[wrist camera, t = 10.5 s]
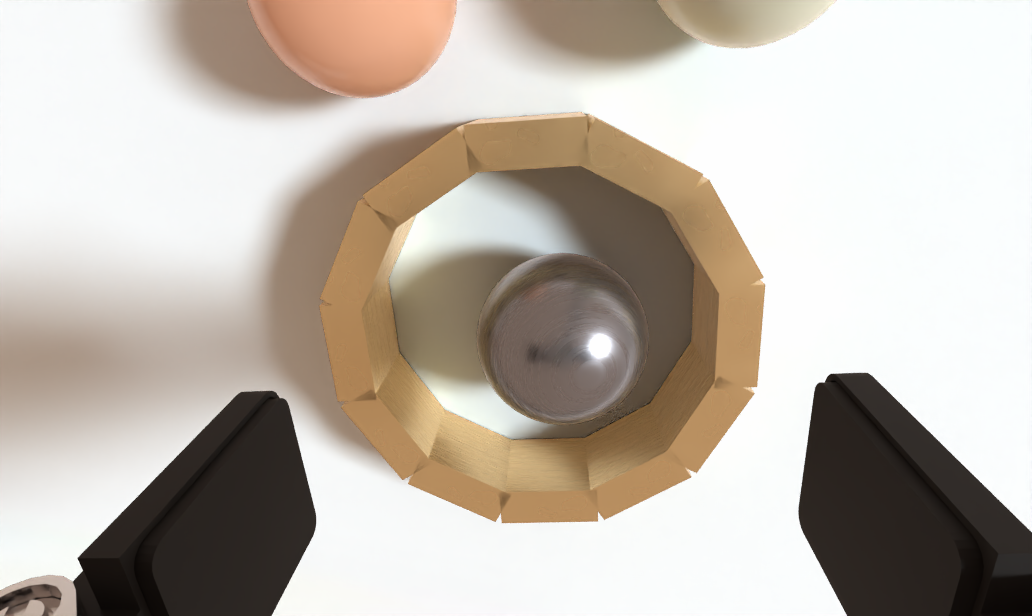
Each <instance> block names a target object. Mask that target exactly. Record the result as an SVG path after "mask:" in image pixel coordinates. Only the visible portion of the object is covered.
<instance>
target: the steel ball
mask: <svg viewBox="0 0 1032 616" xmlns="http://www.w3.org/2000/svg"><path fill="white" fill-rule="evenodd" d="M648 346H649V330H648V324H647V319H646V315H645V312H644V309H643V307H642V304H641V302H640V300H639V299H638V297H637V295H636V293H635V292H634V290H633V289H632V288H631V286H630V285H629V284H628V283H627V282H626V281H625V279H624V278H623V277H622V276H620V275H619V274H618V273H617V272H616V271H614V270H613V269H612V268H610V267H609V266H607V265H605V264H603V263H601V262H599V261H597V260H595V259H592V258H590V257H587V256H582V255H578V254H570V253H554V254H547V255H542V256H539V257H536V258H533V259H530V260H528V261H526V262H524V263H522V264H520V265H518V266H517V267H515V268H513V269H512V270H511V271H509V272H508V273H507V274H506V275H505V276H504V277H503V278H502V279H501V280H500V281H499V282H498V283H497V284H496V285H495V287H494V288H493V290H492V291H491V292H490V294H489V296H488V298H487V299H486V301H485V303H484V306H483V308H482V311H481V314H480V318H479V322H478V330H477V349H478V355H479V360H480V363H481V366H482V369H483V372H484V374H485V376H486V378H487V380H488V382H489V383H490V385H491V386H492V388H493V389H494V391H495V392H496V393H497V395H498V396H499V397H500V398H501V399H502V400H503V401H504V402H505V403H506V404H508V405H509V406H510V407H511V408H513V409H514V410H515V411H517V412H519V413H521V414H522V415H524V416H526V417H528V418H531V419H533V420H536V421H540V422H544V423H548V424H556V425H571V424H578V423H583V422H587V421H590V420H593V419H596V418H598V417H600V416H602V415H604V414H606V413H608V412H609V411H611V410H612V409H614V408H615V407H616V406H618V405H619V404H620V403H621V402H622V401H623V400H624V399H625V398H626V397H627V396H628V395H629V394H630V392H631V391H632V390H633V388H634V387H635V385H636V384H637V382H638V380H639V378H640V376H641V374H642V372H643V369H644V366H645V363H646V360H647V355H648Z"/></svg>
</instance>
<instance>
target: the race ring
mask: <svg viewBox="0 0 1032 616" xmlns="http://www.w3.org/2000/svg"><path fill="white" fill-rule="evenodd" d="M569 166H582V167H584V168H586V169H588V170H590V171H591V172H593V173H595V174H597V175H599V176H601V177H603V178H605V179H607V180H609V181H611V182H613V183H615V184H617V185H619V186H621V187H623V188H625V189H627V190H628V191H630V192H632V193H634V194H636V195H638V196H640V197H642V198H644V199H646V200H648V201H650V202H652V203H654V204H656V205H658V206H660V207H661V209H662V210H663V212H664V214H665V215H666V217H667V219H668V221H669V222H670V224H671V226H672V227H673V229H674V231H675V232H676V234H677V236H678V237H679V239H680V241H681V242H682V244H683V246H684V247H685V249H686V251H687V253H688V254H689V256H690V258H691V259H692V261H693V263H694V283H693V311H692V339H691V342H690V344H689V345H688V347H687V348H686V350H685V351H684V353H683V354H682V356H681V357H680V359H679V360H678V362H677V363H676V365H675V366H674V368H673V369H672V371H671V372H670V374H669V375H668V377H667V378H666V380H665V382H664V383H663V385H662V386H661V388H660V389H659V391H658V392H657V394H656V395H655V397H654V398H653V400H652V401H651V403H649V404H647V405H646V406H644V407H642V408H640V409H638V410H636V411H634V412H632V413H631V414H629V415H627V416H625V417H623V418H621V419H619V420H617V421H616V422H614V423H612V424H610V425H608V426H606V427H604V428H602V429H601V430H599V431H597V432H595V433H593V434H591V435H589V436H587V437H586V438H557V439H523V440H511V439H508V438H506V437H504V436H502V435H500V434H497V433H495V432H493V431H491V430H489V429H486V428H484V427H482V426H480V425H477V424H475V423H473V422H471V421H469V420H466V419H464V418H462V417H460V416H458V415H455V414H453V413H451V412H449V411H446V410H445V409H444V408H443V407H442V406H441V404H440V403H439V402H438V401H437V399H436V398H435V397H434V396H433V394H432V393H431V392H430V391H429V389H428V388H427V387H426V385H425V384H424V383H423V382H422V380H421V379H420V378H419V377H418V375H417V374H416V373H415V372H414V370H413V369H412V368H411V367H410V365H409V364H408V363H407V361H406V360H405V359H404V358H403V356H402V355H401V354H400V353H399V346H398V339H397V333H396V326H395V319H394V313H393V306H392V299H391V293H390V286H389V277H390V275H391V272H392V270H393V268H394V265H395V263H396V261H397V258H398V256H399V254H400V251H401V249H402V247H403V244H404V242H405V240H406V237H407V235H408V233H409V230H410V228H411V226H412V223H413V221H414V219H415V216H416V214H417V213H419V212H420V211H422V210H423V209H424V208H426V207H427V206H429V205H430V204H432V203H433V202H435V201H436V200H437V199H439V198H440V197H442V196H443V195H445V194H446V193H448V192H449V191H450V190H452V189H453V188H455V187H456V186H458V185H459V184H461V183H462V182H463V181H465V180H466V179H468V178H469V177H471V176H472V175H474V174H475V173H476V172H491V171H506V170H522V169H538V168H553V167H569ZM702 175H703V174H702V173H700V172H698V171H696V170H695V169H693V168H691V167H689V166H687V165H685V164H684V163H682V162H680V161H678V160H676V159H674V158H672V157H670V156H668V155H667V154H665V153H663V152H661V151H659V150H657V149H655V148H653V147H651V146H649V145H647V144H646V143H644V142H642V141H640V140H638V139H636V138H634V137H632V136H630V135H628V134H627V133H625V132H623V131H621V130H619V129H617V128H615V127H613V126H611V125H609V124H607V123H606V122H604V121H602V120H600V119H598V118H596V117H594V116H592V115H590V114H588V115H587V116H586V115H585V114H583V113H582V112H575V113H561V114H547V115H533V116H519V117H504V118H490V119H477V120H475V121H472V122H469V123H467V124H464V125H461V126H459V127H456V128H455V129H453V130H452V131H451V132H449V133H448V134H446V135H445V136H444V137H442V138H441V139H440V140H438V141H437V142H435V143H434V144H433V145H431V146H430V147H428V148H427V149H426V150H424V151H423V152H422V153H420V154H419V155H417V156H416V157H415V158H413V159H412V160H410V161H409V162H408V163H406V164H405V165H404V166H402V167H401V168H399V169H398V170H397V171H395V172H394V173H393V174H391V175H390V176H388V177H387V178H386V179H384V180H383V181H381V182H380V183H379V184H377V185H376V186H375V187H373V188H372V189H370V190H369V191H368V192H366V193H365V194H363V197H364V198H363V199H361V200H359V201H358V202H357V204H356V207H355V210H354V212H353V215H352V217H351V220H350V222H349V225H348V228H347V230H346V233H345V235H344V238H343V240H342V243H341V246H340V248H339V251H338V253H337V256H336V258H335V261H334V264H333V266H332V269H331V271H330V274H329V276H328V279H327V281H326V284H325V287H324V289H323V292H322V294H321V297H320V299H321V300H323V301H324V302H323V303H322V304H321V305H320V306H319V307H320V313H321V318H322V323H323V328H324V333H325V338H326V343H327V348H328V353H329V359H330V364H331V369H332V374H333V379H334V384H335V389H336V394H337V400H338V402H340V401H345V402H344V404H343V405H342V407H341V408H342V409H343V411H344V412H345V413H346V414H347V415H348V417H349V418H350V419H351V420H352V421H353V422H354V424H355V425H356V426H357V427H358V428H359V429H360V431H361V432H362V433H363V434H364V435H365V436H366V438H367V439H368V440H369V441H370V442H371V444H372V445H373V446H374V447H375V448H376V449H377V451H378V452H379V453H380V454H381V455H382V456H383V458H384V459H385V460H386V461H387V462H388V463H389V465H390V466H391V467H392V468H393V469H394V471H395V472H396V473H397V474H398V475H399V476H400V478H401V479H402V480H404V479H405V478H407V477H409V476H411V477H410V480H409V482H408V484H409V485H412V486H414V487H416V488H419V489H421V490H423V491H425V492H428V493H430V494H432V495H435V496H437V497H439V498H442V499H444V500H446V501H448V502H451V503H453V504H455V505H458V506H460V507H462V508H465V509H467V510H469V511H472V512H474V513H476V514H478V515H481V516H483V517H485V518H488V519H490V520H492V521H495V522H496V520H497V518H498V517H499V515H500V513H501V519H502V523H535V522H589V521H598V512H599V513H600V515H601V516H602V517H603V519H604V520H605V519H607V518H609V517H611V516H613V515H615V514H617V513H619V512H621V511H623V510H625V509H628V508H630V507H632V506H634V505H636V504H638V503H640V502H642V501H644V500H646V499H648V498H650V497H652V496H654V495H656V494H658V493H660V492H662V491H664V490H666V489H668V488H670V487H672V486H674V485H676V484H678V483H681V482H683V481H685V480H687V479H689V478H691V475H690V472H689V470H691V471H694V472H696V473H697V472H698V470H699V469H700V468H701V466H702V465H703V463H704V462H705V461H706V459H707V458H708V457H709V455H710V454H711V452H712V451H713V450H714V448H715V447H716V446H717V444H718V443H719V442H720V440H721V439H722V437H723V436H724V435H725V433H726V432H727V431H728V429H729V428H730V426H731V425H732V424H733V422H734V421H735V420H736V418H737V417H738V415H739V414H740V413H741V411H742V410H743V409H744V407H745V406H746V404H747V403H748V402H749V400H750V399H751V398H752V396H753V395H754V394H755V393H754V392H753V390H752V389H751V387H757V381H758V369H759V356H760V343H761V331H762V318H763V306H764V293H765V284H764V283H763V282H762V281H761V280H760V279H762V278H763V275H762V274H761V272H760V270H759V268H758V266H757V265H756V263H755V261H754V259H753V257H752V256H751V254H750V252H749V250H748V249H747V247H746V245H745V243H744V241H743V240H742V238H741V236H740V234H739V232H738V231H737V229H736V227H735V225H734V224H733V222H732V220H731V218H730V216H729V215H728V213H727V211H726V209H725V207H724V206H723V204H722V202H721V200H720V199H719V197H718V195H717V193H716V191H715V190H714V188H713V186H712V184H711V182H710V181H709V180H708V179H707V178H705V177H703V176H702Z"/></svg>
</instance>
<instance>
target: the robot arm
mask: <svg viewBox="0 0 1032 616" xmlns="http://www.w3.org/2000/svg"><path fill="white" fill-rule="evenodd" d="M799 521H800V525H801V528H802V531H803V533H804V535H805V537H806V539H807V541H808V542H809V544H810V546H811V548H812V550H813V552H814V554H815V556H816V558H817V559H818V561H819V563H820V565H821V567H822V569H823V571H824V573H825V575H826V577H827V578H828V580H829V582H830V584H831V586H832V588H833V590H834V592H835V594H836V595H837V597H838V599H839V601H840V603H841V605H842V607H843V609H844V611H845V612H846V614H847V616H1032V532H1031V531H1030V530H1029V529H1028V528H1027V527H1026V526H1025V525H1023V524H1022V523H1021V522H1020V521H1019V520H1018V519H1017V518H1016V517H1015V516H1014V515H1013V514H1012V513H1011V512H1010V511H1009V510H1008V509H1007V508H1006V507H1005V506H1004V505H1003V504H1002V503H1001V502H1000V501H999V500H998V499H997V498H996V497H995V496H994V495H993V494H992V493H991V492H990V491H989V490H988V489H987V488H986V487H985V486H984V485H983V484H982V483H981V482H980V481H979V480H978V479H977V478H976V477H975V476H974V475H972V474H971V473H970V472H969V471H968V470H967V469H966V468H965V467H964V466H963V465H962V464H961V463H960V462H959V461H958V460H957V459H956V458H955V457H954V456H953V455H952V454H951V453H950V452H949V451H948V450H947V449H946V448H945V447H944V446H943V445H942V444H941V443H940V442H939V441H938V440H937V439H936V438H935V437H934V436H933V435H932V434H931V433H930V432H929V431H928V430H927V429H926V428H925V427H924V426H923V425H922V424H920V423H919V422H918V421H917V420H916V419H915V418H914V417H913V416H912V415H911V414H910V413H909V412H908V411H907V410H906V409H905V408H904V407H903V406H902V405H901V404H900V403H899V402H898V401H897V400H896V399H895V398H894V397H893V396H892V395H891V394H890V393H889V392H888V391H887V390H886V389H885V388H884V387H883V386H882V385H881V384H880V383H879V382H878V381H877V380H876V379H875V378H874V377H873V376H871V375H870V374H868V373H844V374H830V375H829V376H828V377H827V379H826V381H825V383H818V384H817V385H816V387H815V392H814V399H813V406H812V413H811V421H810V428H809V435H808V443H807V450H806V458H805V465H804V472H803V480H802V487H801V494H800V502H799ZM315 528H316V513H315V509H314V505H313V501H312V497H311V493H310V489H309V485H308V481H307V477H306V473H305V469H304V465H303V461H302V457H301V453H300V449H299V445H298V441H297V437H296V433H295V429H294V425H293V421H292V417H291V413H290V409H289V405H288V403H287V401H286V400H285V399H283V398H279V396H278V395H277V393H276V392H274V391H253V392H241V393H239V394H238V395H237V396H236V397H235V398H234V399H233V400H232V401H231V402H230V403H229V404H228V405H227V406H226V407H225V408H224V409H223V410H222V411H221V412H220V413H219V414H218V415H217V416H216V417H215V418H214V419H213V420H212V421H211V422H210V423H209V424H208V425H207V426H206V427H205V428H204V429H203V430H202V431H201V432H200V433H199V434H198V435H197V436H196V437H195V439H194V440H193V441H192V442H191V443H190V444H189V445H188V446H187V447H186V448H185V449H184V450H183V451H182V452H181V453H180V454H179V455H178V456H177V457H176V458H175V459H174V460H173V461H172V462H171V463H170V464H169V465H168V466H167V467H166V468H165V469H164V470H163V471H162V472H161V473H160V474H159V475H158V476H157V477H156V478H155V479H154V480H153V481H152V483H151V484H150V485H149V486H148V487H147V488H146V489H145V490H144V491H143V492H142V493H141V494H140V495H139V496H138V497H137V498H136V499H135V500H134V501H133V502H132V503H131V504H130V505H129V506H128V507H127V508H126V509H125V510H124V511H123V512H122V513H121V514H120V515H119V516H118V517H117V518H116V519H115V520H114V521H113V522H112V523H111V524H110V525H109V526H108V528H107V529H106V530H105V531H104V532H103V533H102V534H101V535H100V536H99V537H98V538H97V539H96V540H95V541H94V542H93V543H92V544H91V545H90V546H89V547H88V548H87V549H86V550H85V551H84V552H83V553H82V554H81V555H80V556H79V557H78V560H79V562H80V565H81V567H82V569H83V571H82V572H81V574H80V575H79V576H78V577H77V578H76V579H75V580H74V581H73V582H72V581H71V580H69V579H68V578H66V577H64V576H55V575H47V576H41V577H35V578H30V579H27V580H24V581H21V582H19V583H16V584H13V585H10V586H8V587H6V588H4V589H2V590H0V616H272V614H273V612H274V610H275V608H276V606H277V604H278V602H279V600H280V598H281V596H282V594H283V593H284V591H285V589H286V587H287V585H288V583H289V581H290V579H291V577H292V575H293V573H294V571H295V570H296V568H297V566H298V564H299V562H300V560H301V558H302V556H303V554H304V552H305V550H306V548H307V547H308V545H309V543H310V541H311V539H312V537H313V535H314V532H315Z"/></svg>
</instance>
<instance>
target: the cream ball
mask: <svg viewBox="0 0 1032 616" xmlns="http://www.w3.org/2000/svg"><path fill="white" fill-rule="evenodd" d="M836 1H837V0H657V2H658V4H659V5H660V7H661V8H662V10H663V11H664V13H665V14H666V15H667V16H668V17H669V19H670V20H671V21H672V22H673V23H674V24H675V25H676V26H678V27H679V28H680V29H681V30H682V31H684V32H685V33H687V34H688V35H690V36H691V37H693V38H695V39H697V40H699V41H702V42H704V43H707V44H710V45H714V46H718V47H725V48H751V47H757V46H763V45H766V44H770V43H773V42H776V41H778V40H781V39H783V38H785V37H788V36H790V35H792V34H794V33H796V32H798V31H799V30H801V29H803V28H805V27H806V26H808V25H809V24H810V23H812V22H813V21H814V20H816V19H817V18H818V17H820V16H821V15H822V14H823V13H824V12H825V11H826V10H827V9H828V8H829V7H831V6H832V5H833V4H834V3H835V2H836Z"/></svg>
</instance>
